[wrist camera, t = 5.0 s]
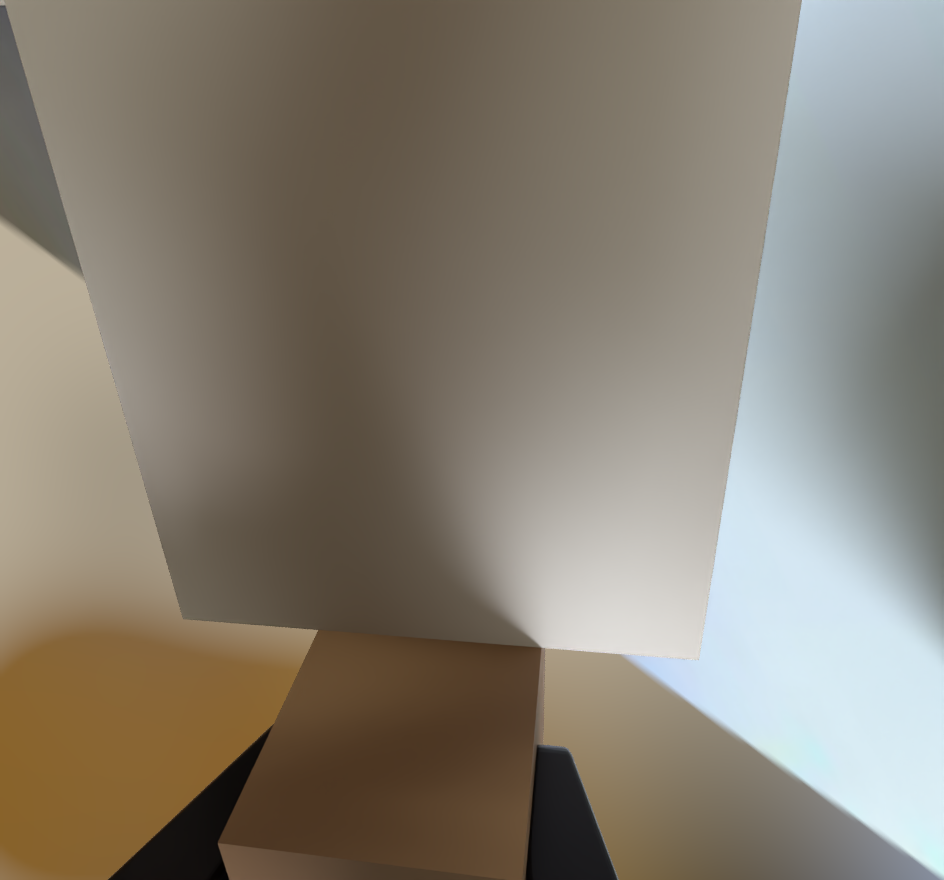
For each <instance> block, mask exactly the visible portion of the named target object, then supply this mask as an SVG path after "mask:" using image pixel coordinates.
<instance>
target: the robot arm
mask: <svg viewBox="0 0 944 880" xmlns="http://www.w3.org/2000/svg"><path fill="white" fill-rule="evenodd" d="M273 725H274V724H273ZM273 725H272V726H271V727H270V728H269V729H268V730H267V731H266V732H264V733H263V734H262V735H261V736H260V737H259V738H258V739H257V740H256V741H255V742H254V743H253V744H252V745H251V746H250V747H248V749H246V750H245V751H244V752H243V753H242V754H241V755H240V756H239V757H238V758H237V759H236V760H235V761H234V762H232V764H230V765H229V766H228V767H227V768H226V769H225V770H224V771H223V772H222V773H221V774H220V775H219V776H218V777H217V778H216V779H214V780H213V781H212V782H211V783H210V784H209V785H208V786H207V787H206V788H205V789H204V790H203V791H202V792H201V793H200V794H199V795H197V796H196V797H195V798H194V799H193V800H192V801H191V802H190V803H189V804H188V805H187V806H186V807H185V808H184V809H183V810H181V811H180V812H179V813H178V814H177V815H176V816H175V817H174V818H173V819H172V820H171V821H170V822H169V823H168V824H167V825H165V826H164V827H163V828H162V829H161V830H160V831H159V832H158V833H157V834H156V835H155V836H154V837H153V838H152V839H151V840H150V841H149V842H147V843H146V844H145V845H144V846H143V847H142V848H141V849H140V850H139V851H138V852H137V853H136V854H135V855H134V856H133V857H131V858H130V859H129V860H128V861H127V862H126V863H125V864H124V865H123V866H122V867H121V868H120V869H119V870H118V871H117V872H115V873H114V874H113V875H112V876H111V877H110V878H109V879H108V880H229V877H228V874H227V871H226V868H225V865H224V862H223V858H222V855H221V852H220V849H219V846H218V841H219V839H220V837H221V835H222V833H223V830H224V828H225V826H226V824H227V822H228V820H229V818H230V816H231V814H232V811H233V809H234V807H235V805H236V803H237V801H238V799H239V797H240V795H241V792H242V790H243V788H244V786H245V784H246V782H247V780H248V778H249V776H250V773H251V771H252V769H253V767H254V765H255V763H256V761H257V759H258V757H259V754H260V752H261V750H262V748H263V746H264V744H265V742H266V740H267V738H268V735H269V733H270V731H271V729H272V727H273ZM525 880H619V879H618V877H617V874H616V871H615V869H614V866H613V863H612V861H611V858H610V855H609V852H608V850H607V847H606V844H605V842H604V839H603V837H602V834H601V831H600V828H599V826H598V823H597V820H596V818H595V815H594V813H593V810H592V807H591V805H590V802H589V799H588V796H587V794H586V791H585V788H584V786H583V783H582V780H581V778H580V775H579V772H578V770H577V767H576V764H575V762H574V759H573V756H572V754H571V752H570V751H569V750H568V749H567V748H565V747H560V746H550V745H537V752H536V763H535V774H534V785H533V797H532V808H531V819H530V831H529V842H528V854H527V865H526V878H525Z"/></svg>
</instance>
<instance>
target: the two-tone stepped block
mask: <svg viewBox="0 0 944 880" xmlns="http://www.w3.org/2000/svg"><path fill="white" fill-rule="evenodd" d="M4 2H5V6H6V9H7V13H8V16H9V20H10V23H11V26H12V30H13V33H14V37H15V40H16V44H17V47H18V51H19V54H20V58H21V61H22V64H23V68H24V71H25V75H26V78H27V82H28V85H29V89H30V92H31V96H32V99H33V102H34V106H35V109H36V113H37V116H38V120H39V123H40V127H41V130H42V133H43V137H44V140H45V144H46V147H47V151H48V154H49V158H50V161H51V165H52V168H53V171H54V175H55V178H56V182H57V185H58V189H59V192H60V196H61V199H62V203H63V206H64V209H65V213H66V216H67V220H68V223H69V227H70V230H71V234H72V237H73V241H74V244H75V247H76V251H77V254H78V258H79V261H80V265H81V268H82V272H83V275H84V279H85V282H86V285H87V289H88V292H89V296H90V299H91V303H92V306H93V310H94V313H95V316H96V320H97V323H98V327H99V330H100V334H101V337H102V340H103V344H104V348H105V351H106V354H107V358H108V361H109V365H110V368H111V371H112V375H113V379H114V382H115V386H116V389H117V392H118V396H119V399H120V403H121V406H122V410H123V413H124V417H125V420H126V424H127V426H128V430H129V434H130V437H131V441H132V444H133V447H134V451H135V455H136V458H137V461H138V465H139V468H140V472H141V475H142V479H143V482H144V486H145V489H146V493H147V496H148V499H149V503H150V506H151V510H152V513H153V517H154V520H155V524H156V527H157V530H158V534H159V537H160V541H161V544H162V548H163V551H164V554H165V558H166V562H167V565H168V569H169V572H170V575H171V579H172V582H173V586H174V589H175V592H176V596H177V600H178V603H179V607H180V610H181V613H182V617H183V619H190V620H202V621H214V622H226V623H239V624H251V625H265V626H276V627H290V628H302V629H314V630H318V632H317V634H316V636H315V638H314V641H313V643H312V645H311V647H310V649H309V651H308V653H307V655H306V657H305V660H304V662H303V664H302V666H301V668H300V670H299V672H298V674H297V676H296V679H295V681H294V683H293V685H292V687H291V689H290V691H289V693H288V696H287V698H286V700H285V702H284V704H283V706H282V708H281V710H280V712H279V715H278V717H277V719H276V721H275V723H274V725H273V727H272V729H271V731H270V733H269V735H268V738H267V740H266V742H265V744H264V746H263V748H262V750H261V752H260V754H259V757H258V759H257V761H256V763H255V765H254V767H253V769H252V771H251V773H250V776H249V778H248V780H247V782H246V784H245V786H244V788H243V790H242V792H241V795H240V797H239V799H238V801H237V803H236V805H235V807H234V809H233V811H232V814H231V816H230V818H229V820H228V822H227V824H226V826H225V828H224V830H223V833H222V835H221V837H220V839H219V841H218V846H219V849H220V852H221V855H222V858H223V862H224V865H225V868H226V871H227V874H228V877H229V880H525V878H526V865H527V854H528V842H529V831H530V819H531V808H532V797H533V785H534V774H535V763H536V752H537V745H543V730H544V728H543V727H544V679H545V648H553V649H565V650H577V651H589V652H602V653H614V654H627V655H639V656H652V657H664V658H677V659H689V660H699V656H700V649H701V643H702V637H703V630H704V624H705V617H706V611H707V605H708V598H709V592H710V585H711V579H712V573H713V566H714V560H715V553H716V547H717V541H718V534H719V528H720V521H721V515H722V508H723V502H724V496H725V489H726V483H727V476H728V470H729V464H730V457H731V451H732V444H733V438H734V432H735V425H736V419H737V412H738V406H739V400H740V393H741V387H742V380H743V374H744V368H745V361H746V355H747V348H748V342H749V335H750V329H751V323H752V316H753V310H754V303H755V297H756V291H757V284H758V278H759V271H760V265H761V259H762V252H763V246H764V239H765V233H766V227H767V220H768V214H769V207H770V201H771V195H772V188H773V182H774V175H775V169H776V162H777V156H778V150H779V143H780V137H781V130H782V124H783V118H784V111H785V105H786V98H787V92H788V86H789V79H790V73H791V66H792V60H793V54H794V47H795V41H796V34H797V28H798V22H799V15H800V9H801V2H802V0H4Z"/></svg>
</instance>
